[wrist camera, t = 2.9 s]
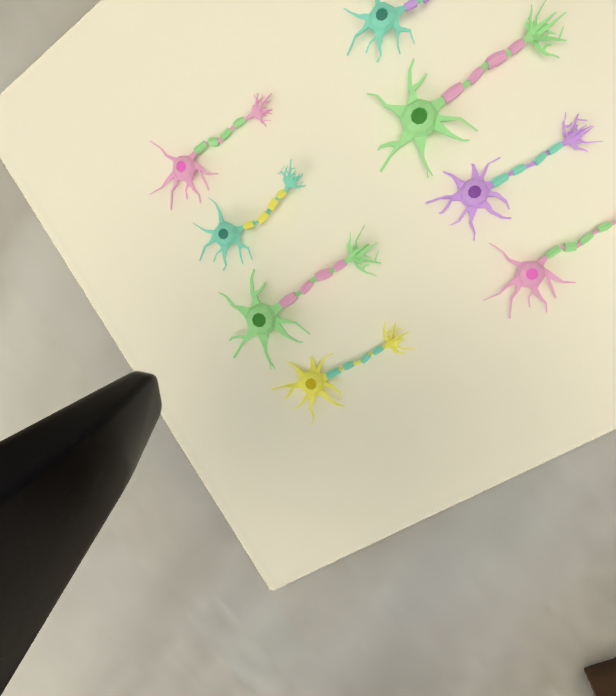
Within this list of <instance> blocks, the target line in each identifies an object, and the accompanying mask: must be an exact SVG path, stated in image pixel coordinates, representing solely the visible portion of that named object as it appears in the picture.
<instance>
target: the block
mask: <svg viewBox="0 0 616 696" xmlns="http://www.w3.org/2000/svg"><path fill="white" fill-rule="evenodd" d="M584 670H585V673H586V675H587V677H588V680H589V682H590V684H591V686H592V689H593V691H594V693H595V696H616V659H613V660H610V661H607V662H604V663H601V664H597V665H594V666H591V667H588V668H585V669H584Z"/></svg>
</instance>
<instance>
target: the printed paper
mask: <svg viewBox="0 0 616 696" xmlns="http://www.w3.org/2000/svg"><path fill="white" fill-rule="evenodd" d="M0 158H1V160H2V162H3V163H4V165H5V166H6V168H7V170H8V171H9V173H10V174H11V176H12V178H13V179H14V181H15V182H16V184H17V186H18V187H19V189H20V190H21V192H22V194H23V195H24V197H25V198H26V200H27V202H28V203H29V205H30V206H31V208H32V210H33V211H34V213H35V214H36V216H37V218H38V219H39V221H40V222H41V224H42V226H43V227H44V229H45V230H46V232H47V234H48V235H49V237H50V238H51V240H52V242H53V243H54V245H55V246H56V248H57V250H58V251H59V253H60V254H61V256H62V258H63V259H64V261H65V262H66V264H67V266H68V267H69V269H70V270H71V272H72V274H73V275H74V277H75V278H76V280H77V282H78V283H79V285H80V286H81V288H82V290H83V291H84V293H85V294H86V296H87V298H88V299H89V301H90V302H91V304H92V306H93V307H94V309H95V310H96V312H97V314H98V315H99V317H100V318H101V320H102V322H103V323H104V325H105V326H106V328H107V330H108V331H109V333H110V334H111V336H112V338H113V339H114V341H115V342H116V344H117V346H118V347H119V349H120V350H121V352H122V354H123V355H124V357H125V358H126V360H127V362H128V363H129V365H130V366H131V368H132V370H133V371H142V372H146V373H151V374H153V375H155V376H156V377H157V380H158V385H159V390H160V396H161V401H162V409H161V413H160V414H161V416H162V418H163V419H164V421H165V422H166V424H167V426H168V427H169V429H170V430H171V432H172V434H173V435H174V437H175V438H176V440H177V442H178V443H179V445H180V446H181V448H182V450H183V451H184V453H185V454H186V456H187V458H188V459H189V461H190V462H191V464H192V466H193V467H194V469H195V470H196V472H197V474H198V475H199V477H200V478H201V480H202V482H203V483H204V485H205V486H206V488H207V490H208V491H209V493H210V494H211V496H212V498H213V499H214V501H215V502H216V504H217V506H218V507H219V509H220V510H221V512H222V514H223V515H224V517H225V518H226V520H227V522H228V523H229V525H230V526H231V528H232V530H233V531H234V533H235V534H236V536H237V538H238V539H239V541H240V542H241V544H242V546H243V547H244V549H245V550H246V552H247V554H248V555H249V557H250V558H251V560H252V562H253V563H254V565H255V566H256V568H257V570H258V571H259V573H260V574H261V576H262V578H263V579H264V581H265V582H266V584H267V586H268V587H269V589H270V590H271V591H273V590H275V589H277V588H279V587H281V586H284V585H286V584H288V583H290V582H292V581H294V580H296V579H298V578H301V577H303V576H305V575H307V574H309V573H311V572H313V571H315V570H318V569H320V568H322V567H324V566H326V565H328V564H330V563H332V562H335V561H337V560H339V559H341V558H343V557H345V556H347V555H349V554H352V553H354V552H356V551H358V550H360V549H362V548H364V547H366V546H368V545H371V544H373V543H375V542H377V541H379V540H381V539H383V538H385V537H388V536H390V535H392V534H394V533H396V532H398V531H400V530H402V529H405V528H407V527H409V526H411V525H413V524H415V523H417V522H419V521H422V520H424V519H426V518H428V517H430V516H432V515H434V514H436V513H438V512H441V511H443V510H445V509H447V508H449V507H451V506H453V505H455V504H458V503H460V502H462V501H464V500H466V499H468V498H470V497H472V496H475V495H477V494H479V493H481V492H483V491H485V490H487V489H489V488H492V487H494V486H496V485H498V484H500V483H502V482H504V481H506V480H508V479H511V478H513V477H515V476H517V475H519V474H521V473H523V472H525V471H528V470H530V469H532V468H534V467H536V466H538V465H540V464H542V463H545V462H547V461H549V460H551V459H553V458H555V457H557V456H559V455H562V454H564V453H566V452H568V451H570V450H572V449H574V448H576V447H578V446H581V445H583V444H585V443H587V442H589V441H591V440H593V439H595V438H598V437H600V436H602V435H604V434H606V433H608V432H610V431H612V430H615V429H616V0H101V1H100V2H99V3H98V4H97V5H95V6H94V7H93V8H92V9H91V10H90V11H89V12H88V13H87V14H86V15H85V16H84V17H83V18H81V19H80V20H79V21H78V22H77V23H76V24H75V25H74V26H73V27H72V28H71V29H70V30H69V31H68V32H66V33H65V34H64V35H63V36H62V37H61V38H60V39H59V40H58V41H57V42H56V43H55V44H54V45H52V46H51V47H50V48H49V49H48V50H47V51H46V52H45V53H44V54H43V55H42V56H41V57H40V58H39V59H37V60H36V61H35V62H34V63H33V64H32V65H31V66H30V67H29V68H28V69H27V70H26V71H25V72H23V73H22V74H21V75H20V76H19V77H18V78H17V79H16V80H15V81H14V82H13V83H12V84H11V85H9V86H8V87H7V88H6V89H5V90H4V91H3V92H2V93H1V94H0Z"/></svg>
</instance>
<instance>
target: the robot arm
mask: <svg viewBox="0 0 616 696" xmlns="http://www.w3.org/2000/svg"><path fill="white" fill-rule="evenodd" d="M161 409H162V401H161V396H160V390H159V385H158V380H157V377H156V376H155V375H153V374H151V373H146V372H142V371H133V372H131V373H129V374H127V375H125V376H123V377H121V378H120V379H118V380H116V381H114V382H112V383H110V384H108V385H106V386H104V387H103V388H101V389H99V390H97V391H95V392H93V393H91V394H89V395H87V396H86V397H84V398H82V399H80V400H78V401H76V402H74V403H72V404H70V405H69V406H67V407H65V408H63V409H61V410H59V411H57V412H55V413H53V414H52V415H50V416H48V417H46V418H44V419H42V420H40V421H38V422H36V423H35V424H33V425H31V426H29V427H27V428H25V429H23V430H21V431H19V432H18V433H16V434H14V435H12V436H10V437H8V438H6V439H4V440H2V441H0V696H1V694H2V693H3V691H4V689H5V688H6V686H7V684H8V683H9V681H10V679H11V678H12V676H13V674H14V673H15V671H16V669H17V668H18V666H19V664H20V663H21V661H22V659H23V658H24V656H25V654H26V653H27V651H28V649H29V648H30V646H31V644H32V643H33V641H34V639H35V638H36V636H37V634H38V633H39V631H40V629H41V628H42V626H43V624H44V623H45V621H46V619H47V618H48V616H49V614H50V613H51V611H52V609H53V608H54V606H55V604H56V603H57V601H58V599H59V598H60V596H61V594H62V593H63V591H64V589H65V588H66V586H67V584H68V583H69V581H70V579H71V578H72V576H73V574H74V573H75V571H76V569H77V568H78V566H79V564H80V563H81V561H82V559H83V558H84V556H85V554H86V553H87V551H88V549H89V548H90V546H91V544H92V543H93V541H94V539H95V538H96V536H97V534H98V533H99V531H100V529H101V528H102V526H103V524H104V523H105V521H106V519H107V518H108V516H109V514H110V513H111V511H112V509H113V508H114V506H115V504H116V503H117V501H118V499H119V498H120V496H121V494H122V493H123V491H124V489H125V487H126V486H127V484H128V482H129V480H130V478H131V476H132V474H133V472H134V470H135V468H136V466H137V464H138V461H139V459H140V457H141V455H142V453H143V451H144V448H145V446H146V444H147V442H148V440H149V437H150V435H151V433H152V431H153V429H154V427H155V424H156V422H157V420H158V418H159V416H160V413H161Z"/></svg>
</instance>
